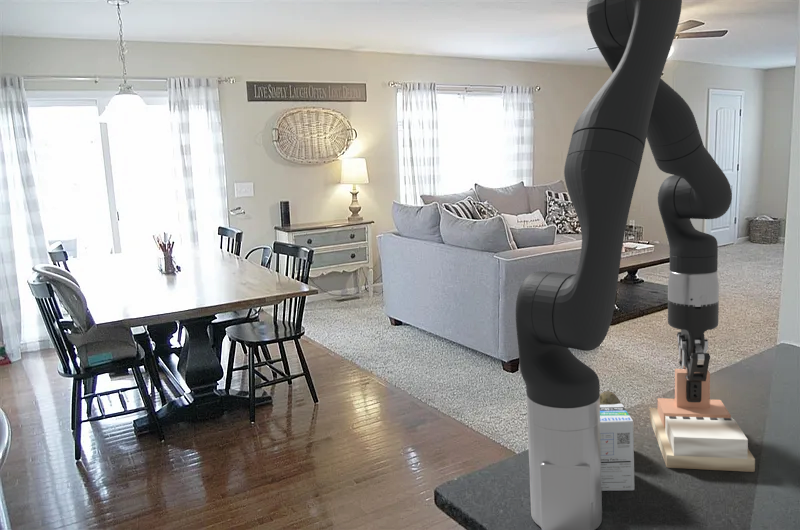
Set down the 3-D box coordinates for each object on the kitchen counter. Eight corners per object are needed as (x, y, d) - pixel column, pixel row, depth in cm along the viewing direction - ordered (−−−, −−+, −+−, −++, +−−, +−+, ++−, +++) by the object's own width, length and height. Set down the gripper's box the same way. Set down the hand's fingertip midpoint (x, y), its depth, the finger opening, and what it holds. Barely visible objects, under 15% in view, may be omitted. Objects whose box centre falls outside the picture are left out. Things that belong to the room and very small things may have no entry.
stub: (730, 429, 100) (731, 379, 98) (663, 426, 102) (663, 378, 101) (720, 413, 106) (721, 365, 104) (657, 411, 108) (657, 365, 107)
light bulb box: (624, 468, 95) (623, 401, 93) (636, 492, 88) (635, 420, 86) (552, 469, 96) (550, 403, 94) (559, 493, 89) (557, 422, 87)
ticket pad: (754, 471, 91) (755, 439, 90) (666, 467, 94) (666, 435, 93) (722, 420, 108) (723, 392, 107) (649, 418, 111) (649, 391, 110)
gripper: (661, 289, 109) (661, 383, 111) (675, 308, 95) (675, 414, 98) (708, 288, 107) (706, 384, 110) (729, 307, 94) (727, 416, 96)
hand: (692, 398), depth 104 cm, fingers closed on stub, 2 cm apart
